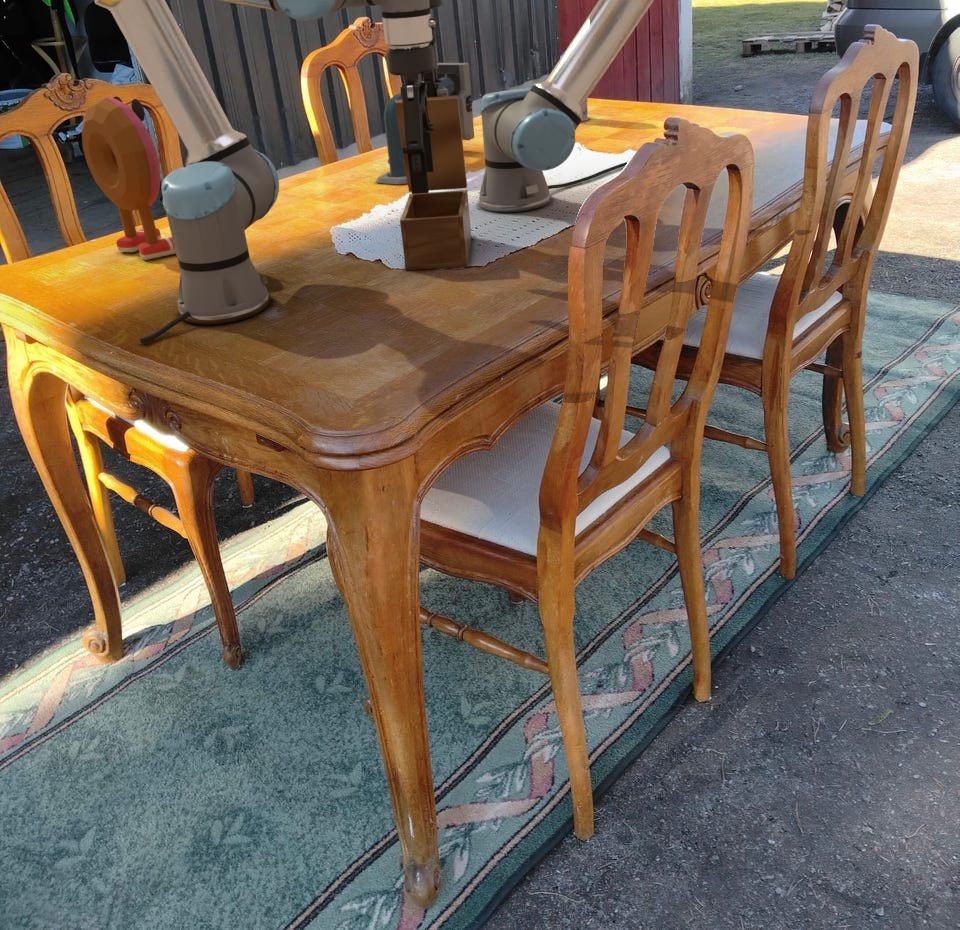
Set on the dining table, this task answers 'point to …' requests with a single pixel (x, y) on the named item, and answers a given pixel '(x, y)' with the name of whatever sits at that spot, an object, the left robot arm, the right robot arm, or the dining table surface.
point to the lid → (440, 142)
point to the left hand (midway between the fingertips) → (423, 182)
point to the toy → (126, 170)
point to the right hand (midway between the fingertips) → (433, 122)
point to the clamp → (457, 84)
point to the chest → (436, 230)
